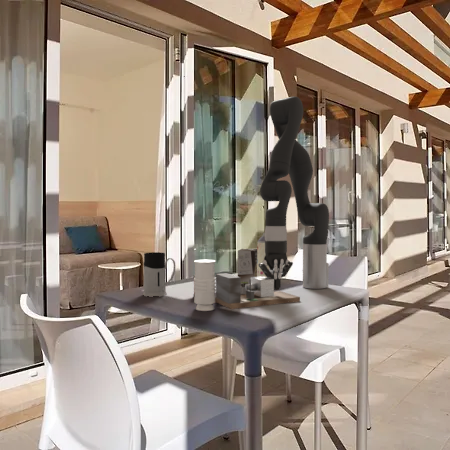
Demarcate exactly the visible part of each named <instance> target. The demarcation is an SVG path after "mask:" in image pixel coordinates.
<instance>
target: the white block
mask: <svg viewBox="0 0 450 450" xmlns="http://www.w3.org/2000/svg"><path fill="white" fill-rule="evenodd" d="M245 290H250V284H245ZM251 291H254V295H256V296H259V297H267V296H274V292H275V290H274V279H272V278H268V277H264V276H260V277H251Z"/></svg>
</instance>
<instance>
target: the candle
mask: <svg viewBox="0 0 450 450" xmlns="http://www.w3.org/2000/svg"><path fill="white" fill-rule="evenodd" d="M193 263H194V275H195V278H193V293H194V292H195V297H193V303H194V304H196V307H195V310H196V311H202V312H207V311H213V310H215V307H214V304H215V303H216V300H215V297H216V272H215V270H216V269H215V267H216V266H215V265H216V264H215V263H216V260H215V259H195V260H193ZM194 281H195V282H194ZM194 288H195V289H194Z"/></svg>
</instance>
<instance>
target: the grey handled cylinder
mask: <svg viewBox="0 0 450 450" xmlns="http://www.w3.org/2000/svg"><path fill="white" fill-rule="evenodd" d="M143 260H144V261H143V293H142V296H143V295H144V297H147V296H149V298H150V297H152V298H154V297H153V296H159V297H165V296H167V295H168V293H167V290H166V288H167V287H166V286H167V285H169V284H170V282H171V281H172V280H173V278H174V276H175V274H176V273H175V272H176V261H175V260H174V258H171V257H169V258H166V253H165V252H158V251H157V252H155V251H154V252H144V255H143ZM169 260H171V261H172V263H173V271H172V275H171V276H170V279H169V280H168V281H167V280H166V274H167V273H166V269H167V267H168V266H167V265H168V261H169ZM166 281H167V282H166ZM164 295H165V296H164Z"/></svg>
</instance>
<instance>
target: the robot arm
mask: <svg viewBox="0 0 450 450" xmlns="http://www.w3.org/2000/svg"><path fill="white" fill-rule="evenodd" d="M269 114H270V118H271V121H272V125H273V127H274V129H275V132H276V134H277V137H278V141H276V143H275V145H274V146H273V148H272V151H271V154H270V160H269V166H268V168H267V169H268V170H267V172H266V174H265V176H264V178H263V180H262V182H261V185H260V189H259V194H260V197H261V198H262V199H261V200H264V201H265V202H278V204H277V206H275V207H272V208H271V207H270V208H268V209H267V210H266V211H265V228H264V233H265V257H264V261H263V262H262V263H259V267H260V268H261V270H262V271H263V272H264V274H265V275H266V277H269V278H272V279H274V291H280V289H281V279H282V278H283V277H284V278H285V277H286V276H287V274H288V273H289V271H290V270H291V268H292V266H293V264H294V263H293V261H290V260H289V259H288V255H287V252H288V230H287V215H288V214H287V212H288V208H289V203H290V200H291V196H292V191H293V194H294V199H295V204H296V205H295V206H296V212H297V216H298V219H299V222H300V223H301V225H303V226H305V227H313V231H312V232H310V233H309V234H307V235H305V236H303V238H302V288H306V289H311V290H312V289H313V290H315V289H316V290H318V289H319V290H320V289H326V288H329V280H330V279H329V274H330V273H329V272H330V271H329V270H330V269H329V262H328V261H327V259H328V258H327V256H328V255H327V254H328V253H327V250H328V249H327V246H328V245H327V243H328V242H327V241H328V237H329V225H330V222H329V221H330V211H329V207H328V205H327V204H325V203H323V202H313V203H312V202H310V199H309V193H308V190H309V186H310V183H311V180H312V178H313V173H314V168H313V165H312V159H311V156H310V153H309V152H308V151H307V149H306V148H305V147H304V146H303V145H302V144H301V143H300V142H299V141H298V140H297V137H298V133H299V130H300V127H301V123H302V121H303V115H304V105H303V102H302V100H301V98H300V97H298V96H296V95H295V96H290V97H285V98H281V99H280V98H279V99H277V100H274V101H272V102H270V105H269ZM288 175H289V178H290V182H291V183H290V182H289V181H288V180H286V179H283V180H279V179H281V178H285V177H287V176H288ZM267 265H268V267H269V270H268V268H267Z"/></svg>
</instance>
